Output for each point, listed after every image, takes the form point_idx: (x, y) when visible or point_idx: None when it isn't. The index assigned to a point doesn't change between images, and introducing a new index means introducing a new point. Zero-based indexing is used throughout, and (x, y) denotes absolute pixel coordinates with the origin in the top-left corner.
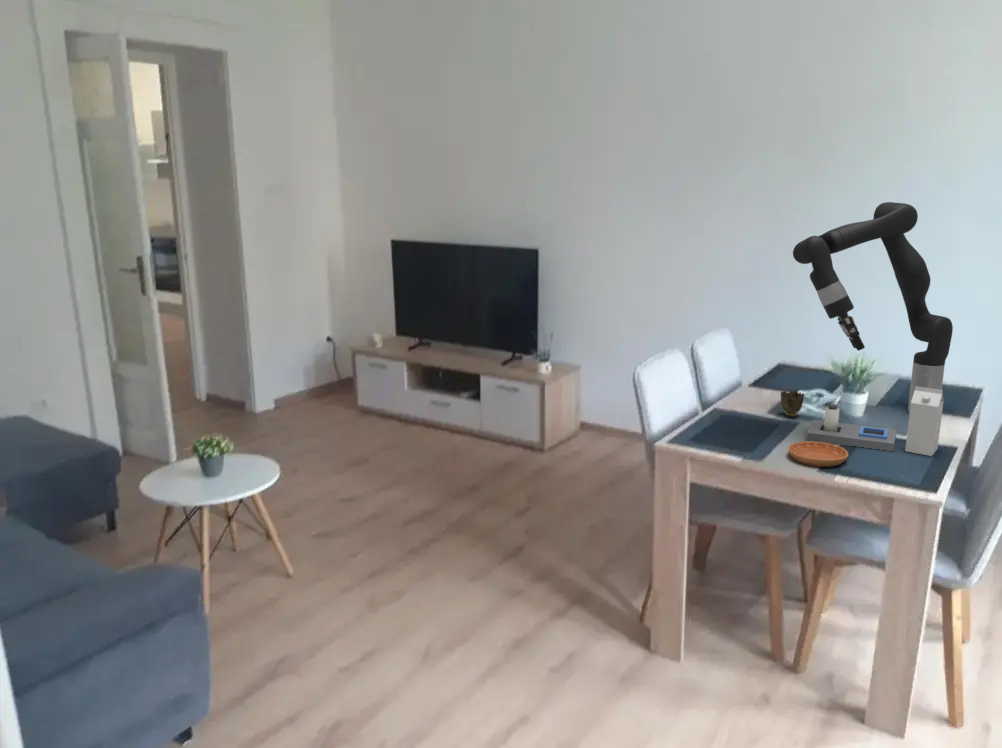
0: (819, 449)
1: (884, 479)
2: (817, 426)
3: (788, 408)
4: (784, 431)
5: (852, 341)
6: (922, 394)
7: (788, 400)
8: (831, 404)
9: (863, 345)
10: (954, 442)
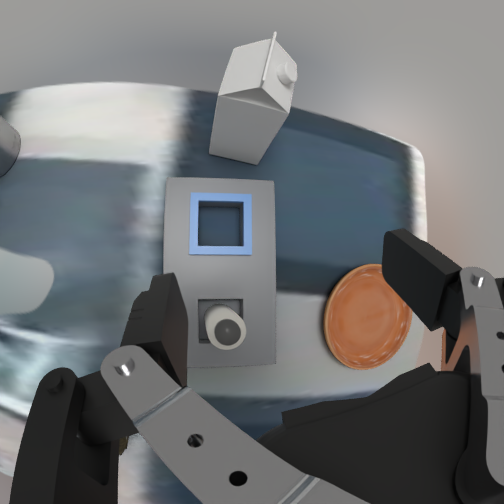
0: (330, 322)
1: (401, 205)
2: (218, 351)
3: None
4: (229, 407)
5: (183, 348)
6: (273, 76)
7: (128, 436)
8: (219, 338)
9: (409, 236)
10: (161, 89)
